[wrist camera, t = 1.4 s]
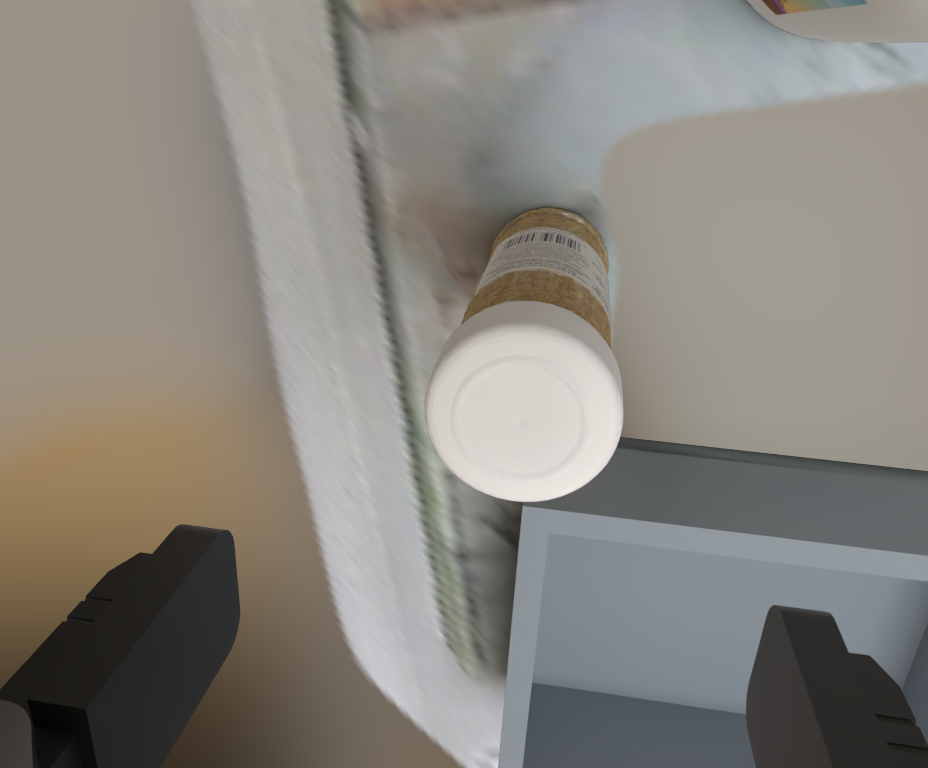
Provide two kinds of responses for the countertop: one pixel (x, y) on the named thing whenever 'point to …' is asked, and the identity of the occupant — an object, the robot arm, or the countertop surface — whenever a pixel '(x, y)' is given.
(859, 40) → the milk bottle
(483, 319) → the spice jar
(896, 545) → the tote
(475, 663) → the countertop surface
